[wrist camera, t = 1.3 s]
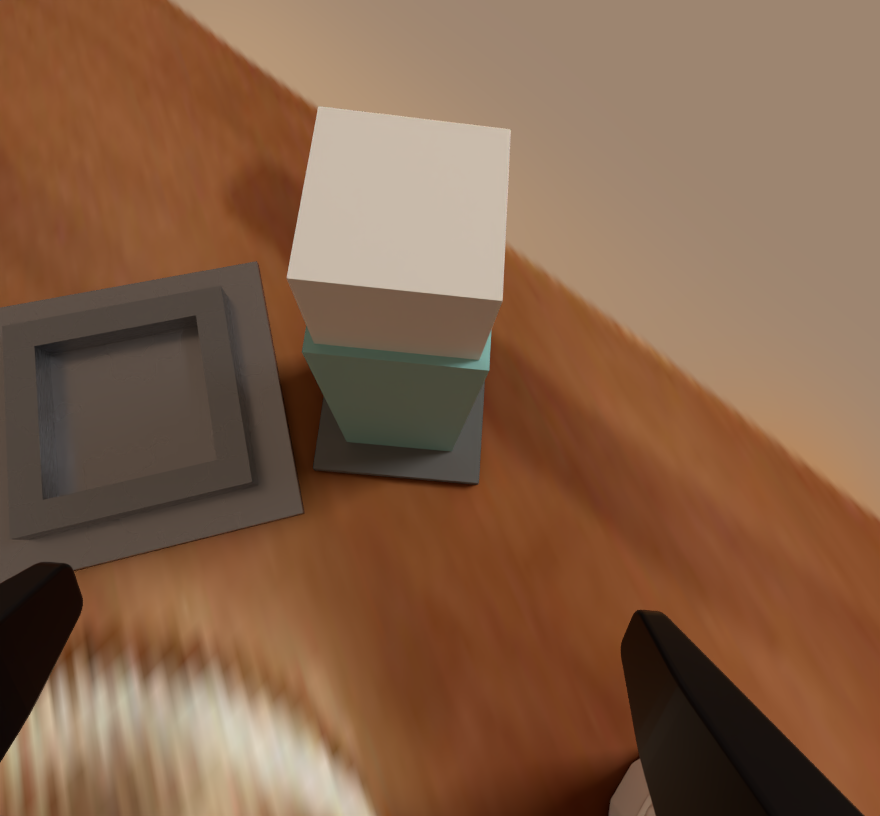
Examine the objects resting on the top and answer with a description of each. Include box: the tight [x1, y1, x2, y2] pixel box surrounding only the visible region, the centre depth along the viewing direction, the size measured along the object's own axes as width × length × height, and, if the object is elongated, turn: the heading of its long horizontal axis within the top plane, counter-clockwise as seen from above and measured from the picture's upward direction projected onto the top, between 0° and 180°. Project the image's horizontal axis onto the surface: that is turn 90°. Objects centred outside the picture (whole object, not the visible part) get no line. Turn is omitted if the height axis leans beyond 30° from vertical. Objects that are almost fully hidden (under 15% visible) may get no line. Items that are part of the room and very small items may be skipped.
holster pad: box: [313, 381, 485, 485], centre depth 23 cm, size 7×7×1 cm
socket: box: [0, 261, 304, 583], centre depth 21 cm, size 12×12×1 cm
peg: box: [287, 106, 511, 452], centre depth 16 cm, size 4×4×13 cm
